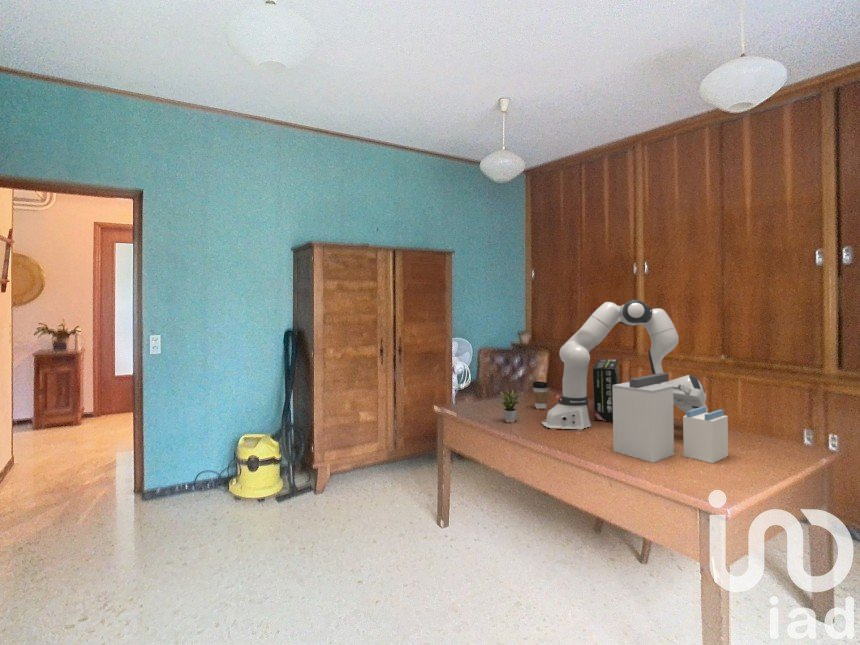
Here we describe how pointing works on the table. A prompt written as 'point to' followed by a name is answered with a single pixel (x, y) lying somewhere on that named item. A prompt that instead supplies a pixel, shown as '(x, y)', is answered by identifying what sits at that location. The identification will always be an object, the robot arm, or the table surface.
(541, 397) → the coffee cup
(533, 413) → the table surface
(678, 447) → the table surface
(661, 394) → the tall stand
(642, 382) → the dark grey bar
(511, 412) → the house plant
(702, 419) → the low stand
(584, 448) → the table surface
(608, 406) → the router box
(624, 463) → the table surface
